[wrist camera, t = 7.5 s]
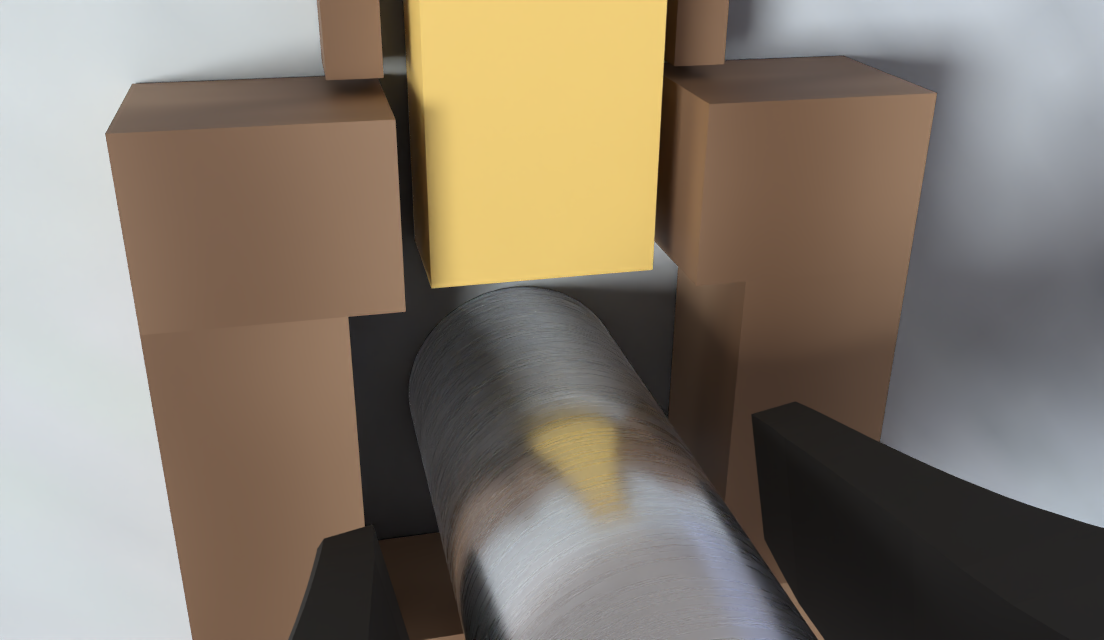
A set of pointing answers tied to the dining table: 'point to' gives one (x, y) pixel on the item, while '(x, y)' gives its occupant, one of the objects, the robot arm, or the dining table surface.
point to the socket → (378, 287)
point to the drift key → (534, 136)
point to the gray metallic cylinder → (575, 488)
